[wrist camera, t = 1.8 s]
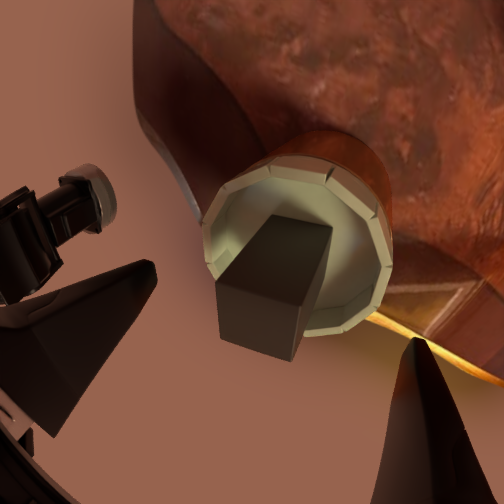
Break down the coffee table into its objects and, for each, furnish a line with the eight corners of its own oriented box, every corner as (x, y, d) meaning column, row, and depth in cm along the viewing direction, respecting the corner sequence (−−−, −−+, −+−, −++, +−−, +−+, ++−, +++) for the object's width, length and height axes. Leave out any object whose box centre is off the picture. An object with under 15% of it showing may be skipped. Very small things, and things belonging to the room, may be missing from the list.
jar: (265, 235, 24) (208, 309, 17) (268, 122, 19) (194, 154, 12) (376, 261, 21) (362, 354, 14) (402, 144, 16) (416, 191, 9)
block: (268, 265, 16) (219, 339, 12) (271, 213, 14) (213, 281, 10) (324, 279, 15) (291, 363, 11) (333, 226, 13) (301, 306, 9)
